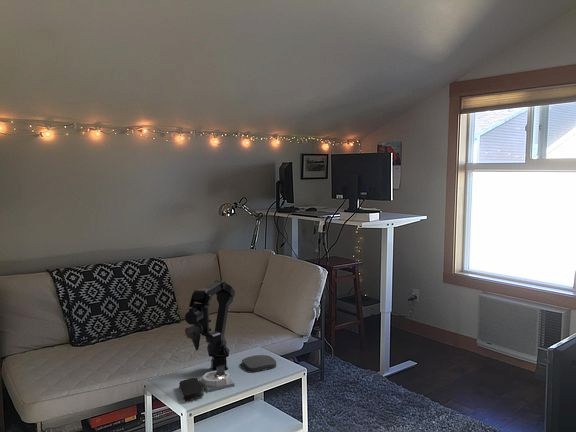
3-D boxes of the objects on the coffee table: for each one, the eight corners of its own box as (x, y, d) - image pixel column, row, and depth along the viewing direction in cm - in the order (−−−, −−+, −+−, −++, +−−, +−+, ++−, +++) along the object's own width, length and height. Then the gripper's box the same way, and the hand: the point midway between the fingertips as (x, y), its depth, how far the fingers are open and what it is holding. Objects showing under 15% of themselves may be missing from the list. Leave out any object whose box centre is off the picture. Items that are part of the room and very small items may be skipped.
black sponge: (205, 399, 207) (204, 390, 207) (184, 403, 204) (184, 394, 204) (197, 384, 222) (197, 376, 222) (178, 387, 219) (177, 379, 219)
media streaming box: (239, 363, 246) (239, 357, 246) (267, 358, 252) (267, 352, 252) (250, 373, 233) (250, 367, 233) (279, 368, 239) (278, 362, 239)
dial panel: (224, 376, 230) (223, 367, 229) (234, 386, 219) (234, 376, 218) (198, 381, 224) (198, 372, 224) (208, 392, 213) (207, 382, 213)
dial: (219, 375, 227) (219, 362, 226) (228, 380, 221) (228, 367, 220) (203, 380, 222) (203, 367, 222) (212, 385, 216) (212, 372, 215)
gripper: (174, 318, 223) (176, 352, 224) (201, 326, 211) (203, 362, 212) (194, 313, 231) (195, 346, 232) (221, 319, 219) (223, 354, 220)
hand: (203, 352), depth 224 cm, fingers open, 9 cm apart
